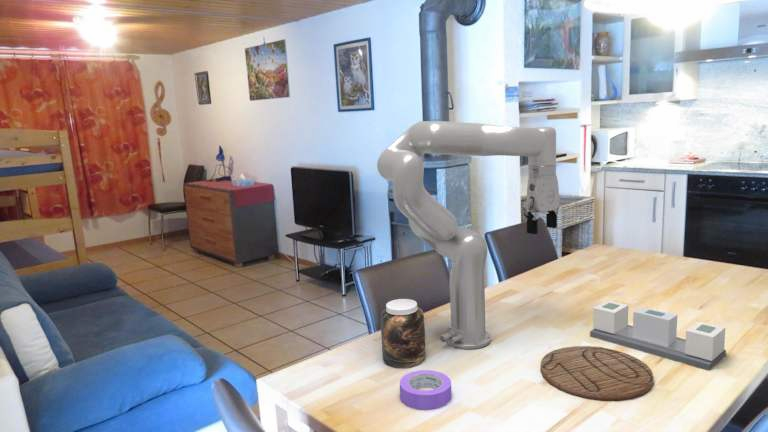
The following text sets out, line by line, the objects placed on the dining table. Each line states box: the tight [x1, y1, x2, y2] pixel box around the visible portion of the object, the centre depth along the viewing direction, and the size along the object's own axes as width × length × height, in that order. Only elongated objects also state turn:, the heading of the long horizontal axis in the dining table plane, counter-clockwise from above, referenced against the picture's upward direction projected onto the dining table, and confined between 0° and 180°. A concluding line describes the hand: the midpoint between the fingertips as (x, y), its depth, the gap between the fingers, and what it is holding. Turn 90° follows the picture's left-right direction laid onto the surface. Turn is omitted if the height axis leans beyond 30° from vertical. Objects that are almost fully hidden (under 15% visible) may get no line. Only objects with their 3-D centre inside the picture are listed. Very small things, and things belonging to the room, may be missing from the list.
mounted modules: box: [592, 300, 726, 361], centre depth 142 cm, size 8×30×6 cm, turn 41°
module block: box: [632, 306, 678, 346], centre depth 142 cm, size 5×9×7 cm, turn 41°
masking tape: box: [399, 369, 452, 411], centre depth 123 cm, size 12×12×4 cm
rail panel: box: [589, 324, 727, 371], centre depth 143 cm, size 11×30×2 cm, turn 41°
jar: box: [380, 298, 427, 369], centre depth 142 cm, size 12×12×15 cm
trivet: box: [539, 345, 654, 402], centre depth 129 cm, size 25×25×2 cm
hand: (542, 230), depth 156 cm, fingers open, 9 cm apart
